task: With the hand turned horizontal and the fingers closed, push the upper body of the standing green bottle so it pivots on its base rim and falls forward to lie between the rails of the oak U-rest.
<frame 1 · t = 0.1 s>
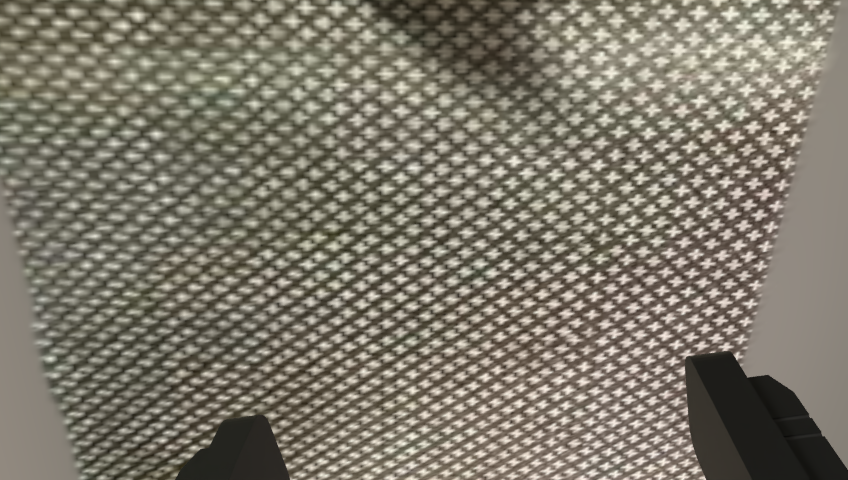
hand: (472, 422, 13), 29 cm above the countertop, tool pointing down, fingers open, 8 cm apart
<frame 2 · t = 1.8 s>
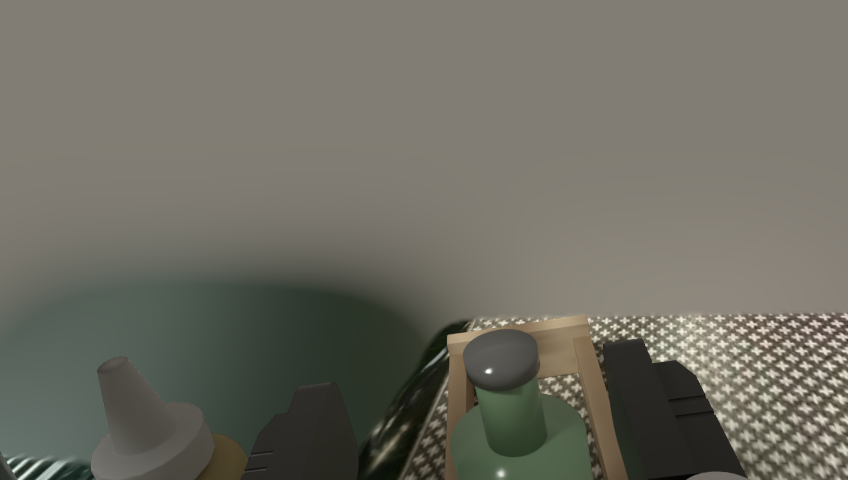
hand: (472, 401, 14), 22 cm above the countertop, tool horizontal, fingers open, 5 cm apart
u rest: (534, 454, 42), on the countertop
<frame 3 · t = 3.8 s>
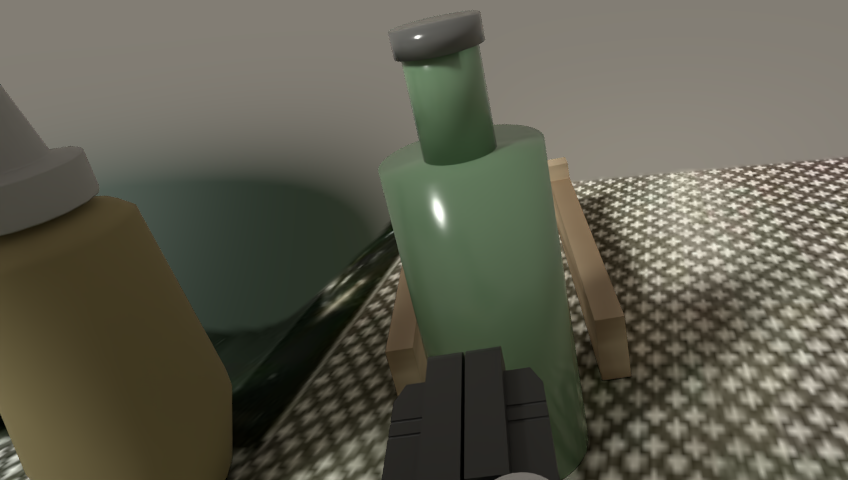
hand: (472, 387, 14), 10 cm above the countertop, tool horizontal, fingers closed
u rest: (503, 292, 37), on the countertop
bottle: (518, 440, 27), on the countertop
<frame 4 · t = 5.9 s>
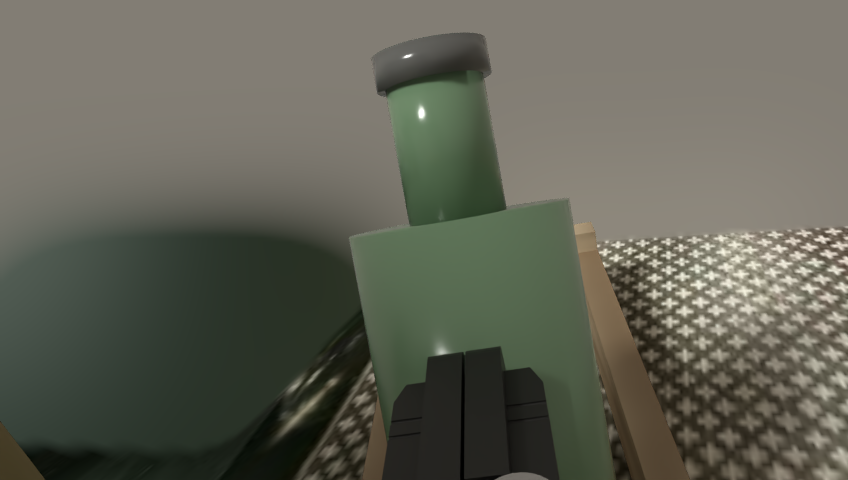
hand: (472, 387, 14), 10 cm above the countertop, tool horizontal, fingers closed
u rest: (515, 413, 28), on the countertop
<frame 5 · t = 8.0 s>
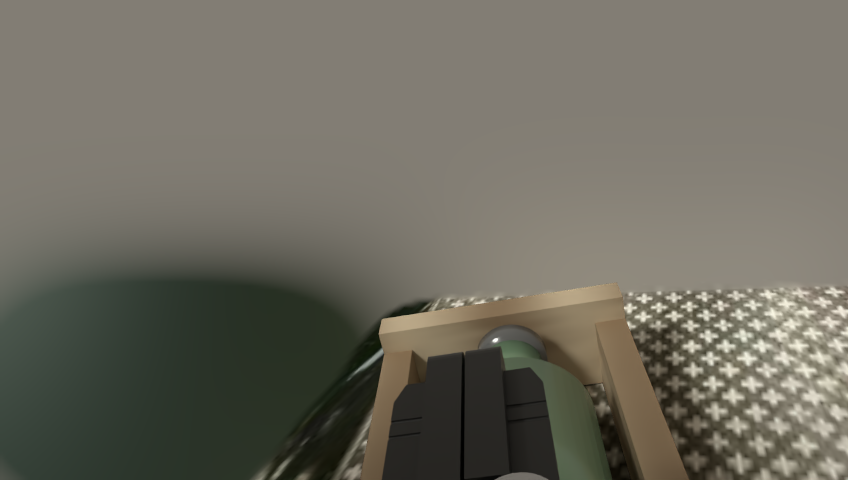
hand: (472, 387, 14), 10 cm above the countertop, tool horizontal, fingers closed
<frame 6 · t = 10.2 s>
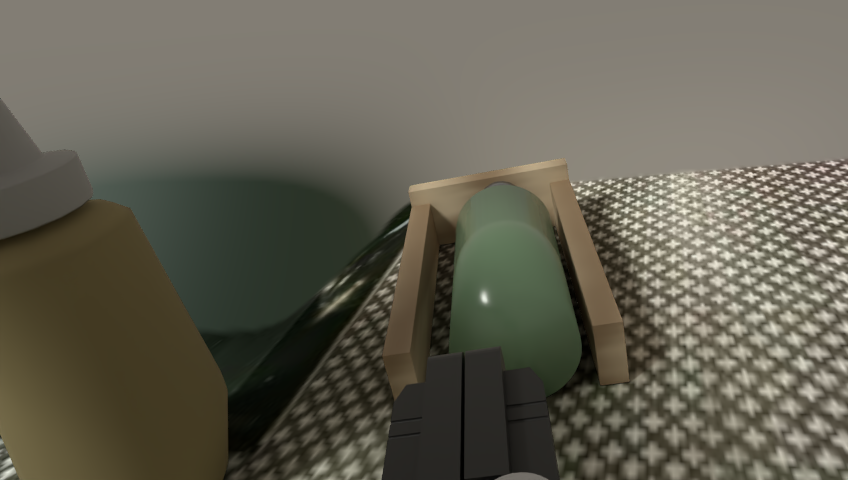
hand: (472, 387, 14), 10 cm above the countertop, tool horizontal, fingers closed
u rest: (502, 294, 37), on the countertop
bottle: (514, 350, 28), point 3 cm above the countertop, tilted 90°
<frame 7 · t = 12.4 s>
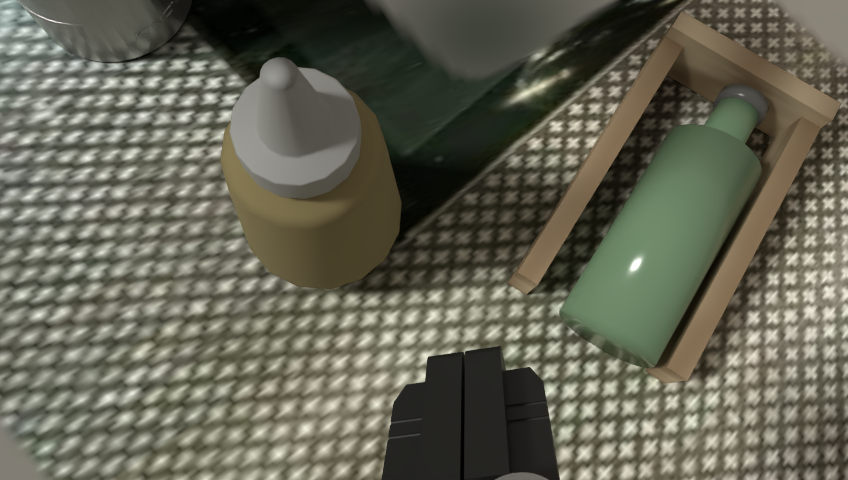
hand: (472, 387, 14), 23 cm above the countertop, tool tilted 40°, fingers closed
u rest: (659, 204, 39), on the countertop
squeeze bottle: (328, 231, 38), on the countertop
bottle: (606, 337, 35), point 3 cm above the countertop, tilted 90°
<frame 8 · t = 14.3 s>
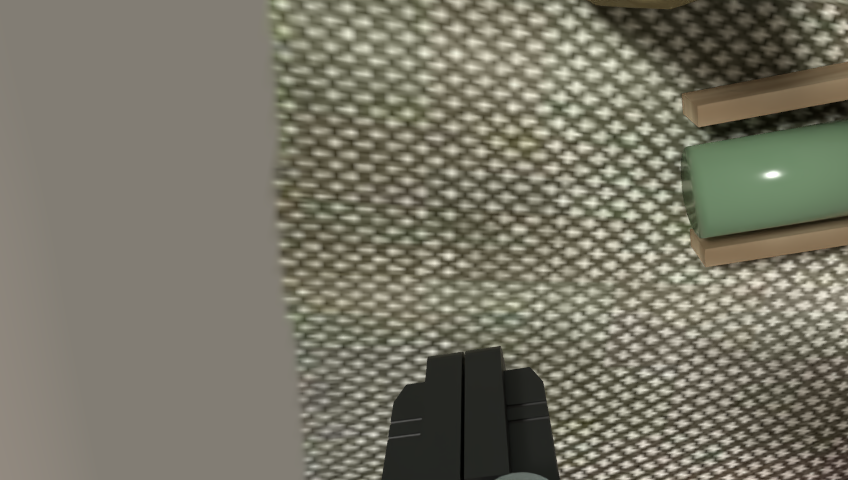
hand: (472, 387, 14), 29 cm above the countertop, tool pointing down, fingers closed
u rest: (839, 146, 40), on the countertop
bottle: (694, 192, 39), point 3 cm above the countertop, tilted 90°
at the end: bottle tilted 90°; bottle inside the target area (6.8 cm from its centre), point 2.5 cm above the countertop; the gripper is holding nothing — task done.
